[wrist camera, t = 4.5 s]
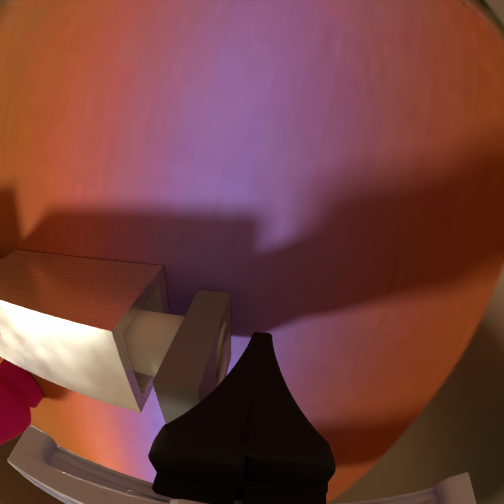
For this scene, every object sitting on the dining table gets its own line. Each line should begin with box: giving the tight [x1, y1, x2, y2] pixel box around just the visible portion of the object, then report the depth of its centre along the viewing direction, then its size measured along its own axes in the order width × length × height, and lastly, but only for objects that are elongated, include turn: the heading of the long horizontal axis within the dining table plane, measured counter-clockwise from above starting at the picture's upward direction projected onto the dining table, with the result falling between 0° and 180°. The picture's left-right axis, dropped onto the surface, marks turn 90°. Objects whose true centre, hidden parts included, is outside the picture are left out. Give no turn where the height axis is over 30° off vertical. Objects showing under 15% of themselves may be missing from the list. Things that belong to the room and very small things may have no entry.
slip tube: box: [122, 290, 231, 424], centre depth 13 cm, size 23×4×6 cm, turn 88°
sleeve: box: [0, 249, 169, 413], centre depth 13 cm, size 12×5×5 cm, turn 88°
